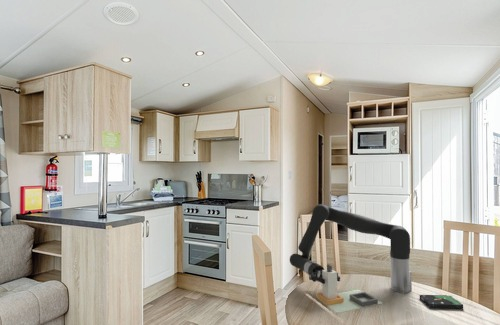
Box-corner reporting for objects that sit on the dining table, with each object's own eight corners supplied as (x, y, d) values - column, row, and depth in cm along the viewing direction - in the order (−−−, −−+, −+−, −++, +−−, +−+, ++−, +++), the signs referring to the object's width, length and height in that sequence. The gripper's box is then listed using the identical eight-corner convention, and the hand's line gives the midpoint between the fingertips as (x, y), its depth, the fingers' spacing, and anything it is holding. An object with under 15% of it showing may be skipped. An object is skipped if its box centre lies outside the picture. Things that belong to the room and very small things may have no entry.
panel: (358, 291, 157) (358, 285, 157) (382, 305, 141) (382, 298, 141) (315, 299, 148) (315, 293, 148) (336, 315, 132) (336, 308, 132)
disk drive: (430, 310, 137) (464, 310, 135) (429, 304, 137) (463, 304, 135) (419, 300, 147) (450, 300, 146) (418, 294, 147) (450, 294, 146)
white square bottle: (331, 297, 148) (330, 262, 148) (337, 301, 143) (336, 265, 144) (322, 298, 147) (322, 264, 147) (328, 302, 142) (327, 267, 142)
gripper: (301, 264, 156) (319, 274, 141) (325, 261, 161) (344, 270, 146) (302, 278, 156) (319, 290, 141) (325, 275, 161) (344, 286, 146)
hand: (331, 280), depth 144 cm, fingers open, 8 cm apart
